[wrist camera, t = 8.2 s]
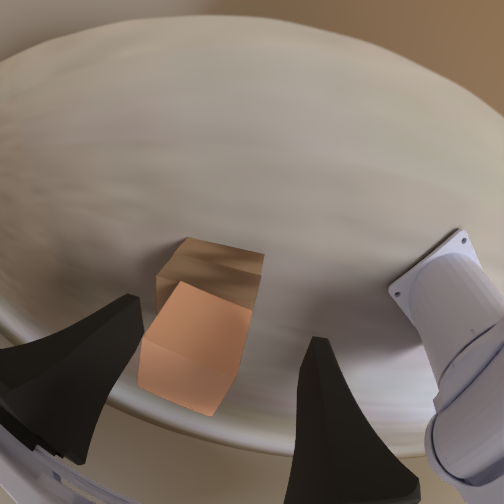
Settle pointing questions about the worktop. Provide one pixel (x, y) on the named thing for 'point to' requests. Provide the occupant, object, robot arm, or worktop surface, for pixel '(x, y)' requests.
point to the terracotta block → (193, 349)
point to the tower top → (206, 281)
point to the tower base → (222, 255)
